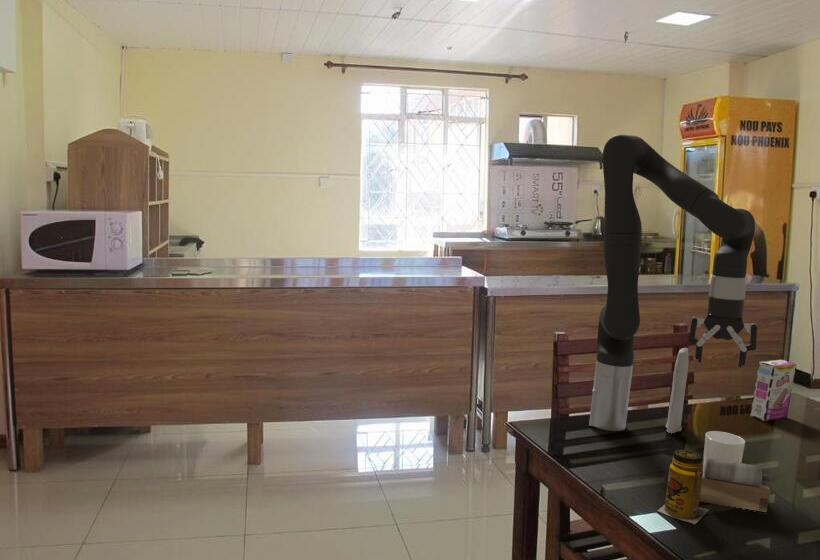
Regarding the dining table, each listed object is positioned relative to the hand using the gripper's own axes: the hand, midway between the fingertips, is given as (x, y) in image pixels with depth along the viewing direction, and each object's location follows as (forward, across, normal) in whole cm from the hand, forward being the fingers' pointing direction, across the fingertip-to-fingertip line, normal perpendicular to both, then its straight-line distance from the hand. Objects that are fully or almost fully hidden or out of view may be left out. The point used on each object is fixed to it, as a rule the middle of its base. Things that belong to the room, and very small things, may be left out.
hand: (719, 364), depth 160 cm
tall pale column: (+23, -9, +18) cm, 30 cm away
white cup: (+23, +2, -13) cm, 27 cm away
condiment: (+23, -5, -34) cm, 41 cm away
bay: (+23, +3, -18) cm, 29 cm away
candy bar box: (+24, +16, +46) cm, 54 cm away
